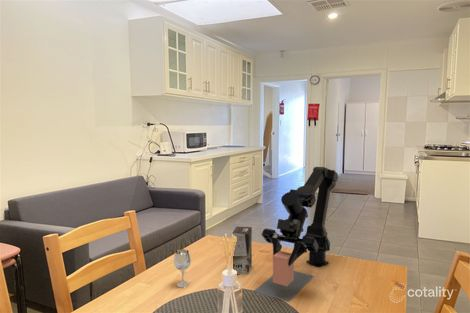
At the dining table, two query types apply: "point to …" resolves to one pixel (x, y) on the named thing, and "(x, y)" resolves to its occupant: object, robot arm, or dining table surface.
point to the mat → (284, 287)
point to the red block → (282, 268)
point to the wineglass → (182, 264)
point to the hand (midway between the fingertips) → (281, 263)
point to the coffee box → (243, 250)
